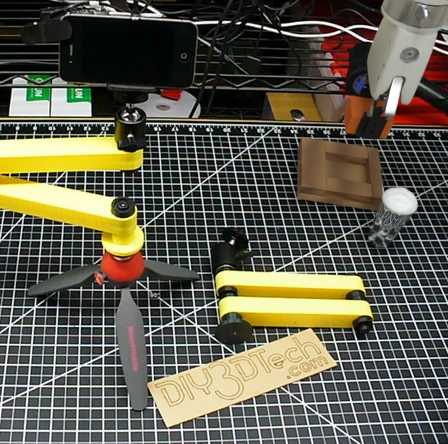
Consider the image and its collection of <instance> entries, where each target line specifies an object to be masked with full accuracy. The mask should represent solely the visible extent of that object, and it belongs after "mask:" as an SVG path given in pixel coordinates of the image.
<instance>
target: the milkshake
mask: <svg viewBox="0 0 448 444" xmlns="http://www.w3.org/2000/svg"><path fill="white" fill-rule="evenodd" d="M382 189H383V196H382V199H381V201H380V204H379V207H378V210H377V211H375V215H374V217H373V219H372V222H371V224H370V227H369V229H368V232H367V240H368V241H369V243H371V245H373V246H375V247H377V248H387V247H388V246H389V245H391V243H392V242H393V241H394V239H395V238H396V237H397V235H398V234H399V232H400V231H401V230H402V229H403V227H404V226H405V224H406V223H407V222H408V221H409V220H410V218H411V217H412V216H413V215H414V214H415V212H417V209H418V207H419V206H418V205H419V203H418V199H417V197H416V196H415V194H414V193H413V192H411V191H410V190H409V189H407V188H406V187H402V186H401V187H399V186H398V187H390V188H388V189H386V190H385V187H384V180H382Z"/></svg>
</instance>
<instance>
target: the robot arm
mask: <svg viewBox="0 0 448 444" xmlns="http://www.w3.org/2000/svg"><path fill="white" fill-rule="evenodd" d="M380 10H381V11H380V12H381V14H382V16H383V18H382V20H381V22H380V24H379V26H378V28H377V31H376V33H375V35H374V38H373V39H372V43H371V45H370V48H369V52H368V54H367V60H366V64H367V73H366V75H365V78H364V80H363V86H361V88H360V91H359V93H358V96H357V97H363V98H370V99H371V102H370V105H369V108H368V111H367V112H366V111H364V114H363V116H362V118H361V121H360V123H359V125H358V128H357V130H356V134H355V137H356V138H361V139H362V138H363V139H368V140H375V141H377V140H379V139H381V138H380V136H381V134H382V132H383V129H384V127H385V125H386V123H387V121H388V120H389V119H390V118H393V119H394V118H395V115H396V112H397V107H398V104H399V103H398V102H399V99H400V103H401V105H405V106H407V105H409V104H410V103H411V102H412V100H413V98H414V96H415V93H416V91H417V89H418V87H419V85H420V82H421V80H422V78H423V76H424V73H425V71H426V68H427V65H428V63H429V61H430V58H431V55H432V53H433V50H434V47H435V44H436V41H437V37H438V31H440V30H442V29H444V27H445V26H446V24H447V22H448V0H383V2H382V4H381V7H380ZM378 100H380V101H385V103H384V106H383V107H380V106H378V107H376V105H377V102H378ZM375 107H376V108H375Z"/></svg>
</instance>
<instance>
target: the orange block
mask: <svg viewBox="0 0 448 444" xmlns="http://www.w3.org/2000/svg"><path fill="white" fill-rule="evenodd" d="M370 102H371V99H370V98H363V97H358V96H356V95H350V96H349V98H348V100H347V103H346V106H345V108H344V111H343V116H344V117H343V121H344V132H345V134H349V135H356V130H357V128H358V125H359V123H360V121H361V118H362V116H363V114H364V111H366V112H367V111H368V108H369V105H370ZM384 103H385V101H380V100H378V102H377V105H376V107H378V106H380V107H383V106H384ZM376 107H375V108H376ZM394 123H395V120H394V117H393V118H390V119H389V120H388V121H387V123H386V125H385V127H384V129H383V132H382V134H381V136H380V138H379V139H382V140H386V139H387V138H388V136H389V133H390V132H391V130H392V128H393V126H394Z"/></svg>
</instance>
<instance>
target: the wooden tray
mask: <svg viewBox="0 0 448 444" xmlns="http://www.w3.org/2000/svg"><path fill="white" fill-rule="evenodd" d="M296 160H297V161H296V163H297V165H296V166H297V168H296V169H297V170H296V171H297V173H296V199H299V200H305V201H311V202H318V203H324V204H329V205H336V206H342V207H343V206H344V207H348V208H353V209H354V208H355V209H361V210H368V211H374V212H377V210H378V207H379V204H380V201H381V199H382V196H383V189H382V181H383V176H382V169H381V159H380V152H379V148H378V147H373V146H372V147H371V146H365V145H358V144H352V143H344V142H340V141H339V142H338V141H332V140H324V139H317V138H311V137H306V136H305V137H304V136H301V137H300V141H299V145H298V147H297V159H296Z"/></svg>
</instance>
